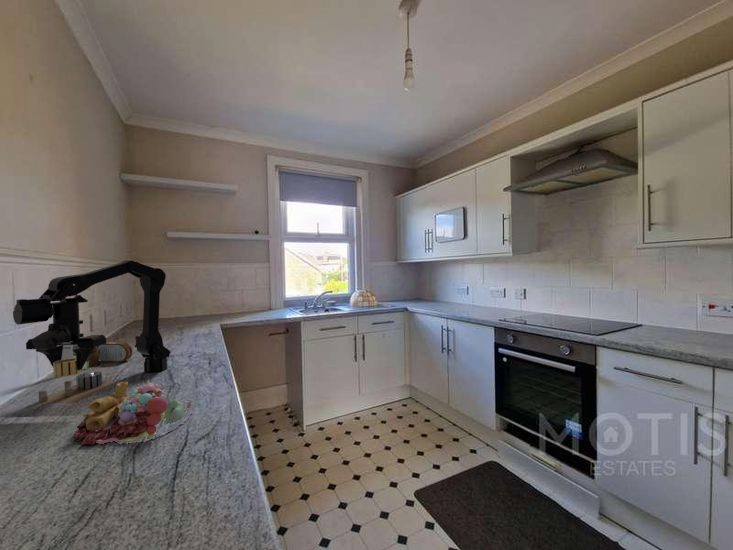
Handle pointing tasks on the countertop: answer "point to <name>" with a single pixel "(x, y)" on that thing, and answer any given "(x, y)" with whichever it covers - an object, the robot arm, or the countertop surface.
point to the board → (76, 395)
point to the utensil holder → (94, 358)
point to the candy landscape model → (129, 415)
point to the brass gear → (65, 367)
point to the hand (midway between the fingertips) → (68, 370)
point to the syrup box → (73, 354)
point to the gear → (89, 380)
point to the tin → (114, 351)
